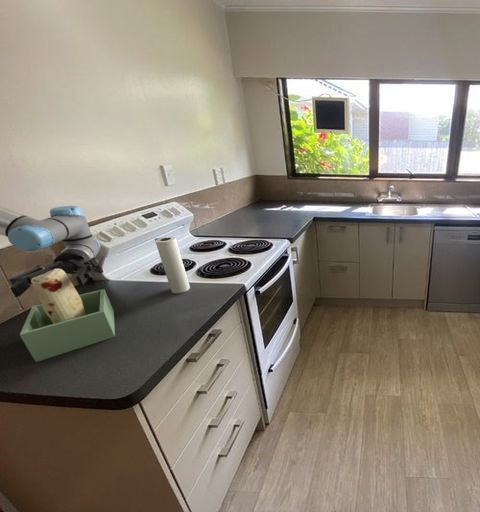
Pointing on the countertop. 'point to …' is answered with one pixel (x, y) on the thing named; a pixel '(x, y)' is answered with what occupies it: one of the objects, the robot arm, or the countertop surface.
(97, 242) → the robot arm
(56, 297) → the food model
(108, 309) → the storage bin
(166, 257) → the paper towel roll
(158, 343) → the countertop surface
